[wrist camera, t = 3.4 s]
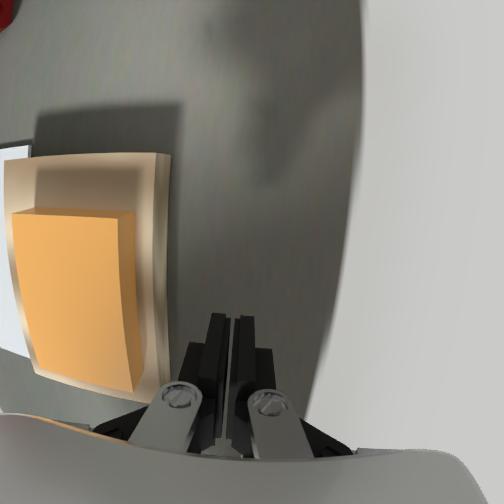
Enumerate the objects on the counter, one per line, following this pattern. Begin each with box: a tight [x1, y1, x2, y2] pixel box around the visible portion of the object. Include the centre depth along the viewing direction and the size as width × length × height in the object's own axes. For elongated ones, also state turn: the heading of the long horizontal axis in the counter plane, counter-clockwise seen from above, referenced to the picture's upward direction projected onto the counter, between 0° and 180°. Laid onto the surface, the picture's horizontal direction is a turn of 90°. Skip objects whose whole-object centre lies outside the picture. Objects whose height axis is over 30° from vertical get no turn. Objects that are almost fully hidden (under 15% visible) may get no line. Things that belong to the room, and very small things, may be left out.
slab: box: [11, 207, 143, 393], centre depth 15 cm, size 10×7×2 cm
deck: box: [4, 153, 171, 404], centre depth 17 cm, size 16×11×3 cm
